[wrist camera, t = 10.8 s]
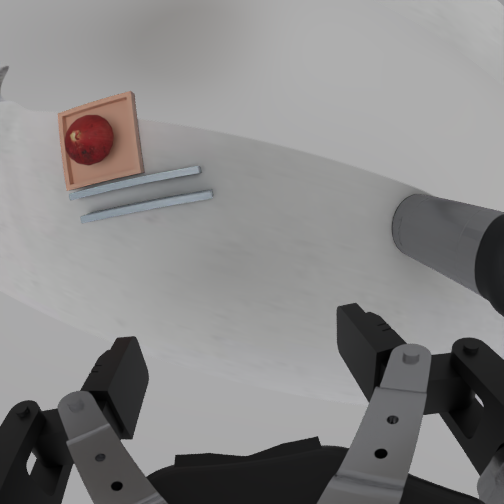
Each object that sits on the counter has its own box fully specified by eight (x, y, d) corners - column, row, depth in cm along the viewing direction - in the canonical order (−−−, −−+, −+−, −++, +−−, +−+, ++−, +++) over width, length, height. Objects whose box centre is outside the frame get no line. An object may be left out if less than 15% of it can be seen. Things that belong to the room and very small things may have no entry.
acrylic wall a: (212, 189, 37) (211, 191, 34) (213, 195, 38) (212, 198, 34) (91, 212, 37) (80, 216, 33) (92, 218, 37) (81, 223, 33)
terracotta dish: (134, 94, 33) (130, 91, 32) (144, 172, 36) (140, 172, 34) (63, 115, 33) (57, 113, 31) (72, 189, 36) (66, 190, 34)
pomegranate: (126, 157, 35) (102, 155, 27) (85, 170, 35) (55, 172, 27) (117, 113, 33) (93, 101, 26) (77, 128, 33) (46, 121, 25)
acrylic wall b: (200, 166, 37) (198, 165, 33) (201, 172, 37) (199, 173, 33) (80, 191, 36) (68, 194, 32) (81, 197, 36) (69, 200, 33)
